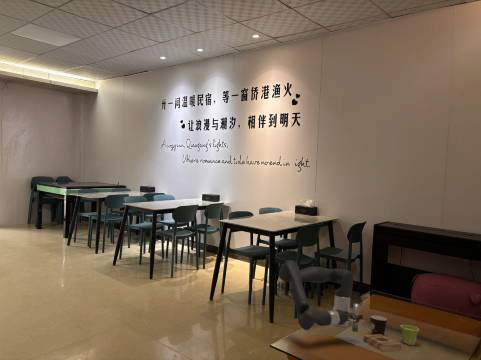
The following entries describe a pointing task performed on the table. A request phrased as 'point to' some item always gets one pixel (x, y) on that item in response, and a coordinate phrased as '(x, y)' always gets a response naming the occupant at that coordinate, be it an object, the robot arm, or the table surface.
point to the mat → (353, 340)
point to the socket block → (382, 342)
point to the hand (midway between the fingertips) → (359, 316)
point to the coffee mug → (378, 324)
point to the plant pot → (409, 334)
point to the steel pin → (355, 312)
